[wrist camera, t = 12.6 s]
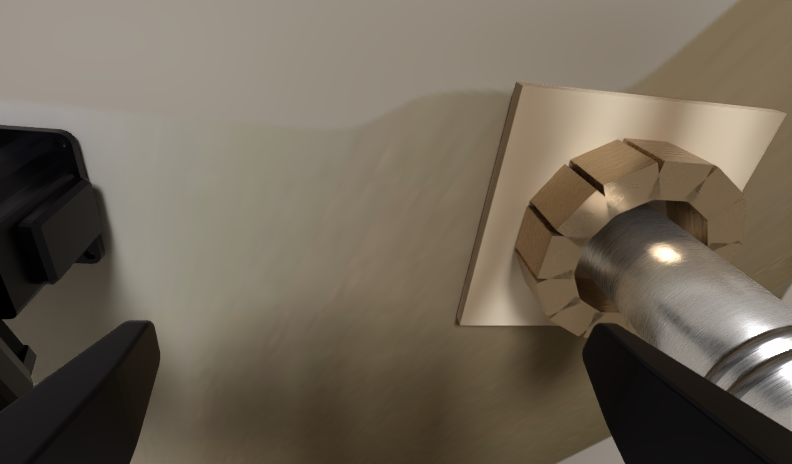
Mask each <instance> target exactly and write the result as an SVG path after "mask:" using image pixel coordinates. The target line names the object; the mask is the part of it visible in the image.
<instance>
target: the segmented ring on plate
mask: <svg viewBox="0 0 792 464" xmlns="http://www.w3.org/2000/svg"><path fill="white" fill-rule="evenodd" d="M785 116H786V113H783V112H780V111H777V110H773V109H765V108H756V107H747V106H737V105H728V104H719V103H709V102H700V101H691V100H682V99H672V98H663V97H654V96H644V95H635V94H626V93H616V92H607V91H598V90H588V89H579V88H570V87H560V86H550V85H542V84H532V83H522V82H516V84H515V88H514V92H513V96H512V100H511V104H510V108H509V112H508V116H507V120H506V124H505V128H504V132H503V136H502V139H501V143H500V147H499V151H498V155H497V159H496V163H495V167H494V171H493V175H492V179H491V183H490V187H489V191H488V195H487V198H486V202H485V206H484V210H483V214H482V218H481V222H480V226H479V230H478V234H477V238H476V242H475V246H474V250H473V254H472V257H471V261H470V265H469V269H468V273H467V277H466V281H465V285H464V289H463V293H462V297H461V301H460V305H459V309H458V313H457V319H458V322H459V324H460V325H538V326H560V325H558V324H556V323H555V322H553V321H551V320H550V319H549V318H548V316H547V315H546V314H545V312H544V311H543V309H542V307H541V306H540V304H539V303H538V301H537V299H536V298H535V296H534V295H533V293H532V292H531V290H530V288H529V287H528V285H527V284H526V282H525V280H524V277H523V274H522V271H521V268H520V265H519V262H518V259H517V256H516V253H515V249H517V248H516V246H515V242H516V239H517V236H518V233H519V229H520V226H521V223H522V220H523V216H524V213H525V210H526V207H527V206H535V205H534V204H533V203H532V202H531V201H530V200H531V199H532V198H533V197H534V196H535V194H536V193H537V192H538V191H539V190H540V189H541V188H542V187H543V186H544V185H545V184H546V183H547V182H548V181H549V180H550V179H551V177H552V176H553V175H554V174H555V173H556V172H557V171H558V170H559V169H560V168H561V167H562V166H563V165H564V164H566V165H567V166H568V167H569V168H571V169H572V165H571V160H570V159H573V158H575V157H577V156H580V155H582V154H584V153H587V152H589V151H591V150H594V149H596V148H598V147H601V146H603V145H605V144H608V143H610V142H612V141H614V140H617V139H618V140H620V141H622V142H623V140H624V138H631V139H642V140H654V141H665V142H669V143H671V144H674V145H676V146H678V147H680V148H682V149H684V150H686V151H688V152H690V153H692V154H694V155H696V156H698V157H700V158H702V159H704V160H706V161H707V162H709V163H711V164H713V165H715V166H717V167H719V168H720V169H721V170H722V171H723V172H724V173H725V174H726V175H727V177H728V178H729V179H730V180H731V181H732V182H733V183H734V184H735V185H736V186H737V187H738V188H739V189H740V190H741V192H742V190H743V188H744V187H745V185H746V183H747V181H748V180H749V178H750V176H751V175H752V173H753V171H754V169H755V168H756V166H757V164H758V162H759V161H760V159H761V157H762V156H763V154H764V152H765V150H766V149H767V147H768V145H769V143H770V142H771V140H772V138H773V137H774V135H775V133H776V131H777V130H778V128H779V126H780V124H781V123H782V121H783V119H784V118H785ZM646 203H648V204H649V205H651V206H652V207H653V208H655V209H656V210H657V211H659V212H660V213H662V214H663V215H664V216H666V217H667V207H666V200H655V199H654V200H651V201H649V202H646ZM574 278H590V277H589V275H588V274H587V273H586V272H585V271H584V269H583V268H582V267H581V266H580V265H579V264H577V267H576V269H575V272H574Z"/></svg>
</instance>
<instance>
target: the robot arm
mask: <svg viewBox="0 0 792 464" xmlns="http://www.w3.org/2000/svg"><path fill="white" fill-rule="evenodd" d="M57 138H58V139H61V140H62V141H64V143H65V145H66V147H64V146H61V145H60V144H58V142H57ZM102 230H103V228H102V224H101V220H100V216H99V212H98V208H97V204H96V200H95V196H94V192H93V188H92V184H91V183H90V181H89V180H88V179H86V176H85V172H84V168H83V164H82V160H81V156H80V152H79V148H78V144H77V141H76V139H75V137H74V136H73V135H72V134H71V133H69V132H67V131H65V130H61V129H48V128H34V127H20V126H6V125H0V464H130V461H131V459H132V456H133V453H134V451H135V448H136V445H137V442H138V439H139V435H140V432H141V429H142V425H143V421H144V418H145V414H146V410H147V407H148V403H149V400H150V396H151V392H152V389H153V385H154V382H155V378H156V374H157V371H158V367H159V362H160V350H159V345H158V341H157V336H156V331H155V327H154V324H153V323H152V322H151V321H148V320H130V321H126V322H124V323H123V324H121V325H120V326H118V327H117V328H116V329H114V330H113V331H112V332H110V333H109V334H107V335H106V336H105V337H103V338H102V339H100V340H99V341H98V342H96V343H95V344H93V345H92V346H91V347H89V348H88V349H86V350H85V351H84V352H82V353H81V354H79V355H78V356H77V357H75V358H74V359H73V360H71V361H70V362H68V363H67V364H66V365H64V366H63V367H61V368H60V369H59V370H57V371H56V372H54V373H53V374H52V375H50V376H49V377H47V378H46V379H45V380H43V381H42V382H40V383H39V384H38V385H36V386H35V387H34V388H33V382H32V379H31V374H32V370H33V367H34V364H35V360H36V354H35V353H34V352H33V351H32V349H31V348H30V347H29V346H28V345H23V344H22V343H21V342H20V340H19V339H18V338H17V337H16V336H15V334H14V333H13V332H12V331H11V330H10V329H9V327H8V326H7V325H6V324H5V323H4V321H3V320H2V319H12V318H15V317H16V316H17V315H18V314H19V313H20V312H21V310H22V309H23V308H24V307H25V306H26V305H27V304H28V303H29V302H30V301H31V299H32V298H33V297H34V296H35V295H36V294H37V293H38V292H39V291H40V290H41V288H42V287H43V286H44V285H45V284H52V285H53V284H55V283H56V282H57V281H58V280H59V279H60V278H61V277H62V276H63V275H64V274H65V273H66V272H67V270H68V269H69V268H70V267H71V266H72V265H73V264H74V263H88V264H93V263H97V262H99V261H100V260H101V259H102V257H103V256H104V254H105V250H104V246H103V242H102V238H101V234H100V233H101V232H102ZM88 250H89V251H92V252H94V254H95V255H93V254H90V253H89V252H88ZM582 357H583V361H584V364H585V367H586V370H587V372H588V375H589V378H590V381H591V383H592V386H593V389H594V392H595V394H596V397H597V400H598V402H599V405H600V408H601V411H602V413H603V416H604V419H605V421H606V424H607V426H608V428H609V430H610V433H611V435H612V437H613V439H614V441H615V443H616V446H617V448H618V450H619V452H620V454H621V456H622V458H623V460H624V462H625V464H792V431H790V430H789V429H787V428H785V427H784V426H782V425H781V424H779V423H777V422H776V421H774V420H772V419H771V418H769V417H768V416H766V415H764V414H763V413H761V412H759V411H758V410H756V409H755V408H753V407H751V406H750V405H748V404H746V403H745V402H743V401H742V400H740V399H738V398H737V397H735V396H734V395H732V394H730V393H729V392H727V391H725V390H724V389H722V388H721V387H719V386H717V385H716V384H714V383H712V382H711V381H709V380H708V379H706V378H704V377H703V376H701V375H699V374H698V373H696V372H695V371H693V370H691V369H690V368H688V367H686V366H685V365H683V364H682V363H680V362H678V361H677V360H675V359H673V358H672V357H670V356H669V355H667V354H665V353H664V352H662V351H661V350H659V349H657V348H656V347H654V346H652V345H651V344H649V343H648V342H646V341H644V340H643V339H641V338H639V337H638V336H636V335H635V334H633V333H631V332H630V331H628V330H626V329H625V328H623V327H622V326H620V325H618V324H616V323H597V324H596V325H594V327H593V329H592V331H591V333H590V335H589V337H588V339H587V341H586V343H585V345H584V348H583V352H582Z"/></svg>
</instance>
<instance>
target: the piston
mask: <svg viewBox="0 0 792 464" xmlns="http://www.w3.org/2000/svg"><path fill="white" fill-rule="evenodd" d="M578 264H579V265H580V266H581V267H582V268H583V269H584V271H585V272H586V273H587V274H588V275H589V277H590V278H591V279H592V280H593V281H594V282H595V284H596V285H597V286H598V287H599V288H600V289H601V291H602V292H603V293H604V294H605V295H606V296H607V298H608V299H609V300H610V301H611V302H612V304H613V305H614V306H615V307H616V308H617V309H618V311H619V312H620V313H621V314H622V315H623V316H624V318H625V319H626V320H627V321H628V322H629V323H630V325H631V326H632V327H633V328H634V329H635V331H636V332H637V333H638V334H639V335H640V336H641V338H642V339H643V340H644V341H646V342H648V343H649V344H651V345H652V346H654V347H656V348H657V349H659V350H661V351H662V352H664V353H665V354H667V355H669V356H670V357H672V358H673V359H675V360H677V361H678V362H680V363H682V364H683V365H685V366H686V367H688V368H690V369H691V370H693V371H695V372H696V373H698V374H699V375H701V376H703V377H704V378H706V379H708V380H709V381H711V382H712V383H714V384H716V385H717V386H719V387H721V388H722V389H724V390H725V391H727V392H729V393H730V394H732V395H734V396H735V397H737V398H738V399H740V400H742V401H743V402H745V403H746V404H748V405H750V406H751V407H753V408H755V409H756V410H758V411H759V412H761V413H763V414H764V415H766V416H768V417H769V418H771V419H772V420H774V421H776V422H777V423H779V424H781V425H782V426H784V427H785V428H787V429H789V430H790V431H792V308H791V307H789V306H788V305H786V304H785V303H784V302H782V301H781V300H780V299H778V298H777V297H775V296H774V295H773V294H771V293H770V292H769V291H767V290H766V289H764V288H763V287H762V286H760V285H759V284H758V283H756V282H755V281H753V280H752V279H751V278H749V277H748V276H747V275H745V274H744V273H743V272H741V271H740V270H738V269H737V268H736V267H734V266H733V265H732V264H730V263H729V262H727V261H726V260H725V259H723V258H722V257H721V256H719V255H718V254H716V253H715V252H714V251H712V250H711V249H710V248H708V247H707V246H705V245H704V244H703V243H701V242H700V241H699V240H697V239H696V238H694V237H693V236H692V235H690V234H689V233H688V232H686V231H685V230H684V229H682V228H681V227H679V226H678V225H677V224H675V223H674V222H673V221H671V220H670V219H668V218H667V217H666V216H664V215H663V214H662V213H660V212H659V211H657V210H656V209H655V208H653V207H652V206H651V205H649V204H648V203H644V204H642V205H639V206H637V207H634V208H632V209H629V210H627V211H625V212H622V213H620V214H617V215H615V216H614V217H613V218H612V219H611V220H610V221H609V222H608V223H607V224H606V225H605V226H604V227H603V228H602V229H601V230H600V231H599V232H597V233H596V234H595V235H594V236H593V237H592V238H591V239H590V240H589V241H588V242H587V243H586V245H585V247H584V250H583V252H582V255H581V257H580V260H579V262H578Z"/></svg>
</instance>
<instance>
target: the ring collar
mask: <svg viewBox="0 0 792 464" xmlns="http://www.w3.org/2000/svg"><path fill="white" fill-rule="evenodd" d="M570 160H571V165H572V169H571V168H569V167H568V166H567V165H566V164H564V165H563V166H562V167H561V168H560V169H559V170H558V171H557V172H556V173H555V174H554V175H553V176H552V177H551V179H550V180H549V181H548V182H547V183H546V184H545V185H544V186H543V187H542V188H541V189H540V190H539V191H538V192H537V193H536V194H535V196H534V197H533V198H532V199H531V200H530V201H531V202H532V203H533V204H534V205H535V206H527V207H526V210H525V213H524V216H523V220H522V223H521V226H520V229H519V233H518V236H517V239H516V242H515V246H516V248H517V249H515V253H516V256H517V259H518V262H519V265H520V268H521V271H522V274H523V277H524V280H525V282H526V284H527V285H528V287H529V288H530V290H531V292H532V293H533V295H534V296H535V298H536V299H537V301H538V303H539V304H540V306H541V307H542V309H543V311H544V312H545V314H546V315H547V316H548V318H549V319H550V320H551V321H553V322H555V323H556V324H558V325H560V326H561V327H563V328H565V329H566V330H568V331H570V332H572V333H573V334H575V335H577V336H578V337H579V336H580V335H582V337H583V338H588V337H589V335H590V333H591V331H592V329H593V327H594V325H596V324H597V323H616V324H618V325H620V326H622V327H623V328H625V329H626V330H628V331H630V332H631V333H633V334H636V333H637V332H636V331H635V329H634V328H633V327H632V326H631V325H630V323H629V322H628V321H627V320H626V319H625V318H624V316H623V315H622V314H621V313H620V312H619V311H618V309H617V308H616V307H615V306H614V305H613V304H612V302H611V301H610V300H609V299H608V298H607V296H606V295H605V294H604V293H603V292H602V291H601V289H600V288H599V287H598V286H597V285H596V284H595V282H594V281H593V280H592V279H591V278H574V272H575V269H576V267H577V264H578V262H579V260H580V257H581V255H582V252H583V250H584V247H585V245H586V243H587V242H588V241H589V240H590V239H591V238H592V237H593V236H594V235H595V234H596V233H597V232H599V231H600V230H601V229H602V228H603V227H604V226H605V225H606V224H607V223H608V222H609V221H610V220H611V219H612V218H613V217H614V216H615V215H617V214H620V213H622V212H625V211H627V210H629V209H632V208H634V207H637V206H639V205H642V204H644V203H646V202H649V201H651V200H654V199H655V200H666V207H667V218H668V219H670V220H671V221H673V222H674V223H675V224H677V225H678V226H679V227H681V228H682V229H684V230H685V231H686V232H688V233H689V234H690V235H692V236H693V237H694V238H696V239H697V240H699V241H700V242H701V243H703V244H704V245H705V246H707V247H708V248H710V249H711V250H712V251H714V252H715V253H716V254H718V255H719V256H721V257H722V258H723V259H725V260H726V261H727V262H729V263H731V261H732V259H733V258H734V256H735V255H736V253H737V251H738V250H739V248H740V246H741V245H742V243H740V242H739V240H741V239H744V229H745V207H746V199H745V198H743V197H742V196H743V195H744V194H743V193H742V192H741V190H740V189H739V188H738V187H737V186H736V185H735V184H734V183H733V182H732V181H731V180H730V179H729V178H728V177H727V175H726V174H725V173H724V172H723V171H722V170H721V169H720V168H719V167H717V166H715V165H713V164H711V163H709V162H707V161H706V160H704V159H702V158H700V157H698V156H696V155H694V154H692V153H690V152H688V151H686V150H684V149H682V148H680V147H678V146H676V145H674V144H671V143H669V142H665V141H654V140H642V139H631V138H624V140H623V142H622V141H620V140H618V139H617V140H614V141H612V142H610V143H608V144H605V145H603V146H601V147H598V148H596V149H594V150H591V151H589V152H587V153H584V154H582V155H580V156H577V157H575V158H573V159H570Z"/></svg>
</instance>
